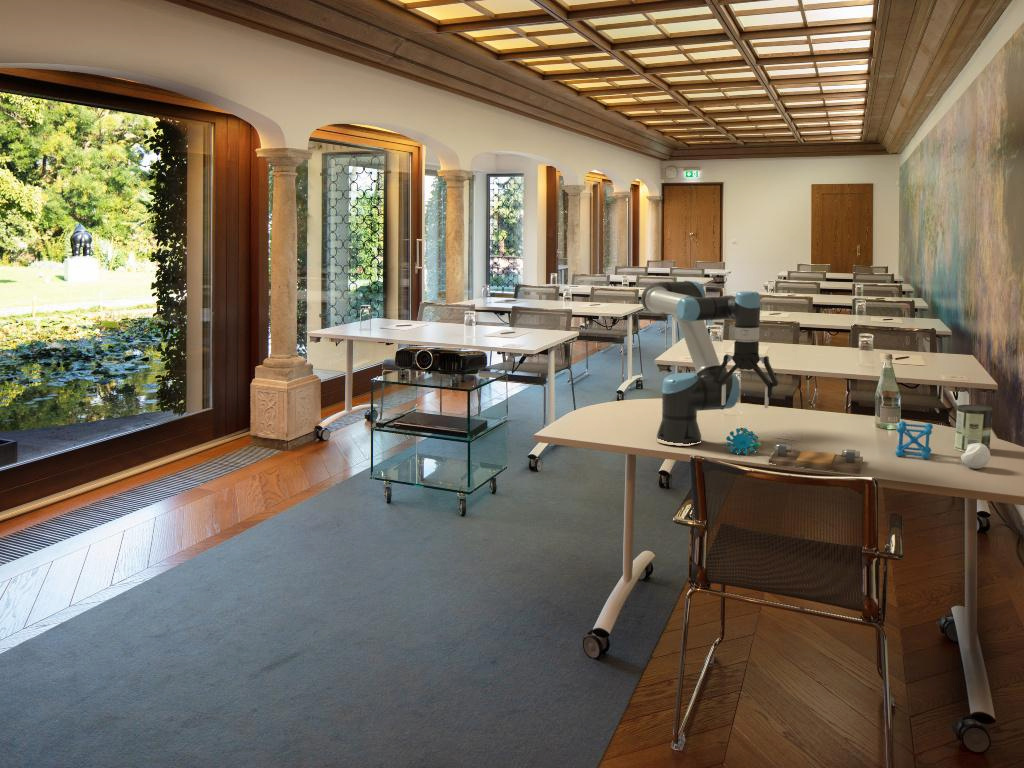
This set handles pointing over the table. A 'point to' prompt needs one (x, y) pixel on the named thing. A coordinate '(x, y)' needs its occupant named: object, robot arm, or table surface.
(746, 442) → the virus model
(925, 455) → the molecular structure
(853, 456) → the shaft pair
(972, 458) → the crumpled paper ball
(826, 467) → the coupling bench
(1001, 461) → the table surface
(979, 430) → the coffee can
